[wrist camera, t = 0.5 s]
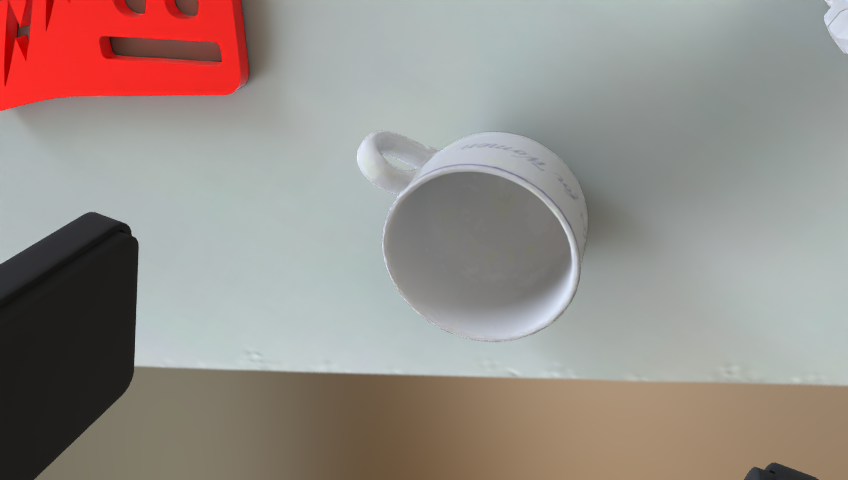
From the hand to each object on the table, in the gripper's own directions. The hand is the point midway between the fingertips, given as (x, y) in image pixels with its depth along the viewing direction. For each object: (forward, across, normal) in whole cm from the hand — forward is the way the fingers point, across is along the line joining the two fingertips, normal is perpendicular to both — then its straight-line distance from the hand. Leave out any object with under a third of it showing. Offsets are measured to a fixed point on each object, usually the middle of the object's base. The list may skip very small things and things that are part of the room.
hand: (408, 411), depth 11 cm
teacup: (+35, +4, +12) cm, 37 cm away
